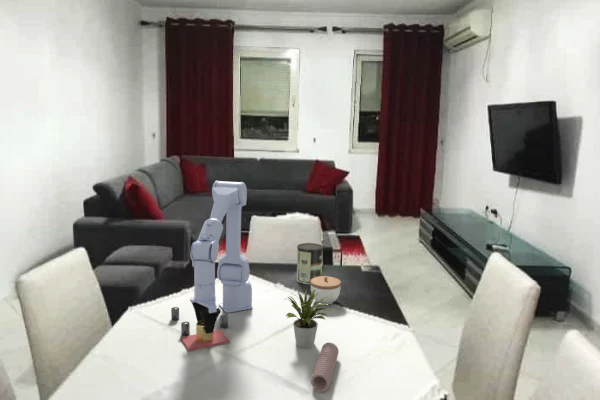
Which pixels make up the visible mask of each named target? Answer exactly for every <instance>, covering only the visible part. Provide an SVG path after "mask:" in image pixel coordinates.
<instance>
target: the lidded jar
mask: <svg viewBox="0 0 600 400" xmlns="http://www.w3.org/2000/svg"><path fill="white" fill-rule="evenodd" d="M310 283H311V284H310V292H311V293H312V291H313V290H315V289H316V291H315V293H314V296H315V295H316V294H317V296H316V297H315V298H314V299H313V300H314V301H315V302H316V301H317V302H318V301H320V300H321V299H322V298H325V297H327V298H325V299H324V300H322V301H321V302H320V303H321V304H331V303H333V302H334V303H335V302H336V301H337V300H338V298H339V295H340V292H341V286H342V285H341V284H342V281H341V280H340V279H339V278H336V277H332V276H327V275H324V276H323V275H322V276H319V277H315V278H312V279H311V282H310ZM311 293H310V294H311ZM317 302H316V303H317ZM334 303H333V304H334ZM331 305H332V304H331Z"/></svg>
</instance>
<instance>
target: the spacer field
mask: <svg viewBox="0 0 600 400" xmlns="http://www.w3.org/2000/svg"><path fill="white" fill-rule="evenodd" d="M170 312H171V313H170V314H171V317H170V318H171V320H172V321H179V320H180V307H177V306H173V307H171V308H170ZM180 326H181V328H180V329H181V330H180V333H181V337H185V336H190V334H191V332H190V322H189V321H183V322H181V323H180ZM219 328H220V329H227V328H229V315H228V314H220V316H219Z"/></svg>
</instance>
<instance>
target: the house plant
mask: <svg viewBox="0 0 600 400" xmlns="http://www.w3.org/2000/svg"><path fill="white" fill-rule="evenodd" d="M315 291H316V289H315V290H313V291H312V293H310V295H309V297H308V295H307V294H308V289H307V288H306V289H305V292H304V298H303V296H302V294H301V293H300V292H299V291H297V294H298V297H299V298H298V297H297V295H295V297H296V298H297V299H298V302H299V303H300V306H299V305H298V302H296V300H295V299H294V298H293V296H294V294H291V295H292V296H290V295H288V296H287V298H285V300H287V301H288V302H290V303H291V307H292V308H294V310H296V312H297V313H298V315H299V317H300V318H299V317H298V316H297V315H296V314H294V313H293V312H288V313H287V314H285V317H287V318H286V319H288V318H297V319H295V320H294V321H293V322H292V323H293V324H292V325H293V330H294V339H295V344H296V346H297V347H299V348H304V349H307V348H308V349H309V348H311V347H313V346H314V345H315V340H316V335H317V331H318V326H319V324H318V322H317V321H316V319H321V320H326V318H325V317H324V316H326V317H327V318H328V317H329V316H328V314H327V313H325V312H320V311H324V310H329V311H332V309H330V308H327V307H322V306H326V305H325V304H319V303H320V302H321V301H322V300H324V299H325V298H327V297H325V298H322V299H321V300H320V301H318V302H316V303H315V304H314V305H313V301H314V300H315V299H314V298H315V297H316V296H317V294H316V295H315V296H314V293H315ZM307 297H308V298H307Z"/></svg>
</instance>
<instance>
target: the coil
mask: <svg viewBox="0 0 600 400" xmlns="http://www.w3.org/2000/svg"><path fill="white" fill-rule="evenodd" d="M321 347H322V348H321V349H320V352H319V354H318V355H319V356H318V358H317V361H316V365H315V366H314V370H313V372H312V376H311V378H310V384H311V386H312V387H313V388H314V389H315V392H316V393H325V392H327V391H328V390H329V388H330V386H331V381H332V378H333V374H334V370H335V367H336V363H337V360H338V357H339V348H338V346H337V345H336V344H335V343H333V342H326V343H324V344H323V345H322V346H321Z"/></svg>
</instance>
